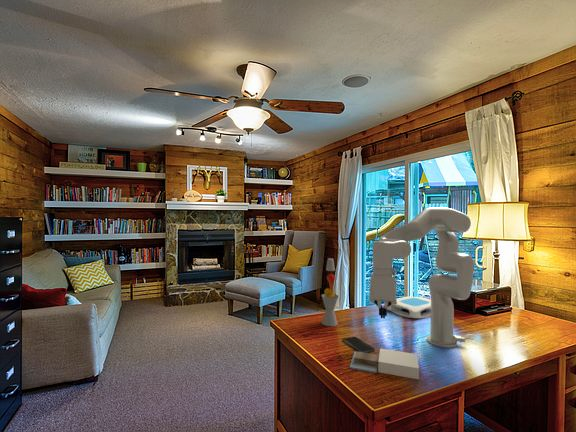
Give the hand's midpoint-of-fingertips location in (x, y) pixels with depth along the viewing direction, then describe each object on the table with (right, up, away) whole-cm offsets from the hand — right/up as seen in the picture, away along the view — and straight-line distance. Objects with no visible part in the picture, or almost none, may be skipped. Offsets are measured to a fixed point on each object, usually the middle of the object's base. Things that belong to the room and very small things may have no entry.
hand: (382, 317), depth 122 cm
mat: (-7, -18, 0) cm, 19 cm away
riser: (+4, -18, -5) cm, 19 cm away
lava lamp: (-16, -18, +43) cm, 49 cm away
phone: (-6, -18, +15) cm, 25 cm away
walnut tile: (-7, -17, -1) cm, 19 cm away
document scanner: (+40, -19, +66) cm, 79 cm away
